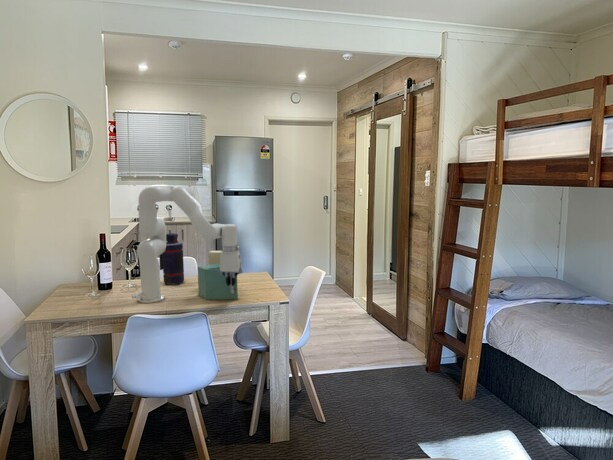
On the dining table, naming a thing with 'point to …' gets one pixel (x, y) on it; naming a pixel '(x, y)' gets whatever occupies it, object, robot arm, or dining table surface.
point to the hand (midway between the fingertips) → (230, 284)
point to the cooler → (204, 278)
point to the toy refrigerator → (214, 257)
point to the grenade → (172, 260)
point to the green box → (220, 285)
